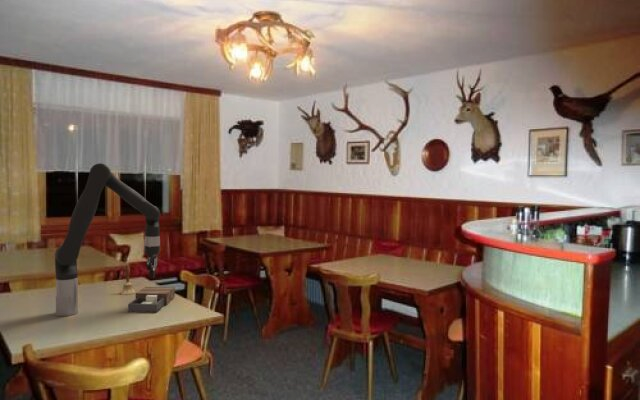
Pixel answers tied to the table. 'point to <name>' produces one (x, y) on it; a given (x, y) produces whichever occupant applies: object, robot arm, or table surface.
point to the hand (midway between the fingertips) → (152, 277)
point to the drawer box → (158, 293)
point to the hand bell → (127, 284)
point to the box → (145, 305)
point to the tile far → (151, 298)
